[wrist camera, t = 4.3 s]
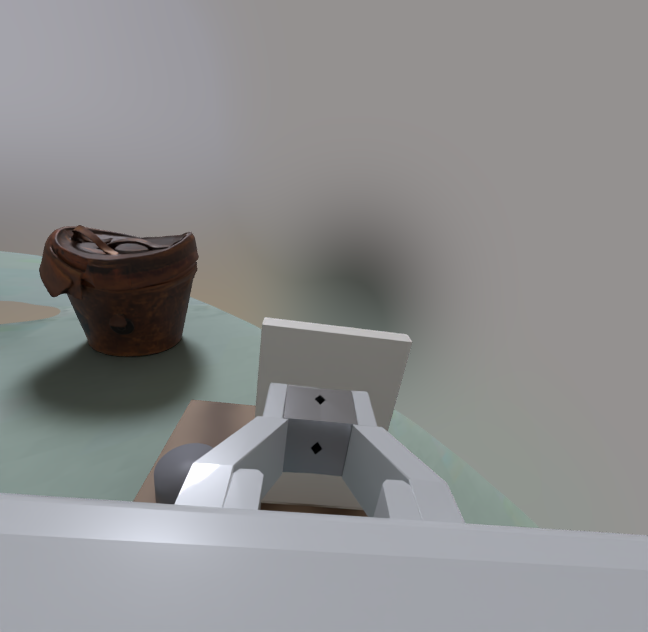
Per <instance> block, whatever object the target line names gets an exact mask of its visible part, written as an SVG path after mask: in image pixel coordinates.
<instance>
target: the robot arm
mask: <svg viewBox="0 0 648 632" xmlns="http://www.w3.org/2000/svg"><path fill="white" fill-rule="evenodd" d="M282 472H293V473H313V474H323V475H332V476H342V479H343V480H344V482H345V483H346V485H347V486H348V488H349V489H350V491H351V492H352V494H353V495H354V497H355V498H356V500H357V501H358V503H359V504H360V506H361V507H362V509H363V510H364V512H365V513H366V515H367V516H368V517H361V516H346V515H330V514H314V513H299V512H283V511H268V510H260V509H261V500H262V499H263V497H264V496H265V495H266V494H267V492H268V491H269V490H270V489H271V487H272V486H273V485H274V484H275V482H276V481H277V480H278V479H279V477H280V476H281V475H282ZM0 632H648V535H633V534H620V533H604V532H588V531H574V530H559V529H543V528H527V527H511V526H495V525H480V524H465V521H464V519H463V517H462V515H461V513H460V510H459V508H458V506H457V504H456V502H455V499H454V497H453V495H452V493H451V491H450V488H449V486H448V484H447V483H446V482H445V481H444V480H443V479H442V478H441V477H440V476H438V475H437V474H436V473H435V472H434V471H433V470H431V469H430V468H429V467H428V466H427V465H426V464H424V463H423V462H422V461H421V460H420V459H419V458H417V457H416V456H415V455H414V454H413V453H412V452H411V451H409V450H408V449H407V448H406V447H405V446H404V445H402V444H401V443H400V442H399V441H398V440H397V439H395V438H394V437H393V436H392V435H391V434H390V433H389V432H387V431H386V430H385V429H384V428H383V427H377V423H376V419H375V416H374V412H373V409H372V405H371V401H370V398H369V394H368V393H367V392H366V391H347V390H334V389H321V388H316V387H307V386H299V385H290V384H288V386H287V384H281V383H271V384H270V386H269V390H268V395H267V399H266V403H265V408H264V412H263V416H257V417H256V418H254V419H253V420H252V421H250V422H249V423H247V424H246V425H245V426H243V427H242V428H241V429H239V430H238V431H236V432H235V433H234V434H232V435H231V436H230V437H228V438H227V439H225V440H224V441H223V442H221V443H220V444H219V445H217V446H216V447H214V448H213V449H212V450H210V451H209V452H208V453H206V454H205V455H203V456H202V457H201V458H199V459H198V460H197V461H195V462H194V463H193V464H192V466H191V468H190V471H189V473H188V475H187V477H186V480H185V482H184V484H183V486H182V488H181V491H180V493H179V495H178V497H177V500H176V502H175V504H161V503H146V502H130V501H115V500H100V499H85V498H70V497H54V496H39V495H24V494H9V493H0Z"/></svg>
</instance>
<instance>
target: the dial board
mask: <svg viewBox="0 0 648 632" xmlns="http://www.w3.org/2000/svg"><path fill="white" fill-rule="evenodd" d="M255 409H256V406H252V405H241V404H231V403H221V402H211V401H200V400H191V401H190V403H189V405H188V407H187V408H186V410H185V412H184V414H183V415H182V417H181V419H180V421H179V422H178V424H177V426H176V428H175V429H174V431H173V433H172V435H171V436H170V438H169V440H168V441H167V443H166V445H165V447H164V448H163V450H162V452H161V454H160V455H159V457H158V459H157V461H156V462H155V464H154V466H153V468H152V469H151V471H150V473H149V475H148V476H147V478H146V480H145V482H144V483H143V485H142V487H141V489H140V490H139V492H138V494H137V496H136V497H135V499H134V501H133V502H146V503H156V499H155V486H154V470H155V467H156V465H157V463H158V461H159V460H160V459H161V458H162V457H163V456H164V455H165V454H166V453H167V452H169V451H170V450H172V449H174V448H176V447H178V446H181V445H185V444H190V443H201V444H206V445H209V446H211V447H213V448H214V447H216V446H217V445H219V444H220V443H221V442H223V441H224V440H225V439H227V438H228V437H230V436H231V435H232V434H234V433H235V432H236V431H238V430H239V429H241V428H242V427H243V426H245V425H246V424H247V423H249V422H250V421H252V420H253V419H254V418H255ZM260 510H268V511H283V512H299V513H314V514H330V515H346V516H361V517H368V516H367V515H366V513H365V512H364V510H363V509H362V508H355V507H341V506H328V505H314V504H300V503H287V502H273V501H261V509H260Z"/></svg>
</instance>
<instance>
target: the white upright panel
mask: <svg viewBox="0 0 648 632" xmlns="http://www.w3.org/2000/svg"><path fill="white" fill-rule="evenodd" d="M411 345H412V341H411V340H410V338H409V336H408V335H407V334H399V333H391V332H383V331H374V330H366V329H357V328H349V327H341V326H333V325H324V324H316V323H308V322H299V321H291V320H283V319H275V318H266V317H265V318H264V321H263V323H262V333H261V345H260V358H259V371H258V384H257V396H256V409H255V418H256V417H257V416H263V412H264V408H265V403H266V399H267V395H268V390H269V386H270V384H271V383H281V384H287V386H288V384H290V385H299V386H307V387H316V388H321V389H334V390H347V391H366V392H367V393H368V394H369V398H370V401H371V405H372V409H373V412H374V416H375V419H376V423H377V427H383V428H384V429H385V430H386V431H387V432H388V428H389V425H390V421H391V417H392V414H393V410H394V406H395V403H396V399H397V395H398V392H399V388H400V385H401V381H402V377H403V374H404V370H405V367H406V363H407V359H408V356H409V352H410V348H411ZM212 449H213V447H211V446H209V445H206V444H201V443H190V444H185V445H181V446H178V447H176V448H174V449H172V450H170V451H169V452H167V453H166V454H165V455H164V456H163V457H162V458H161V459H160V460H159V461H158V463H157V465H156V467H155V470H154V486H155V499H156V503H161V504H175V502H176V500H177V497H178V495H179V493H180V491H181V488H182V486H183V484H184V482H185V480H186V477H187V475H188V473H189V471H190V468H191V466H192V464H193V463H194V462H195V461H197V460H198V459H199V458H201V457H202V456H203V455H205V454H206V453H208V452H209V451H210V450H212ZM261 501H273V502H287V503H300V504H314V505H328V506H341V507H355V508H362V507H361V506H360V504H359V503H358V501H357V500H356V498H355V497H354V495H353V494H352V492H351V491H350V489H349V488H348V486H347V485H346V483H345V482H344V480H343V479H342V476H332V475H323V474H313V473H293V472H282V475H281V476H280V477H279V479H278V480H277V481H276V482H275V484H274V485H273V486H272V487H271V489H270V490H269V491H268V492H267V494H266V495H265V496H264V497H263V499H262V500H261Z"/></svg>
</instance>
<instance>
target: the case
mask: <svg viewBox="0 0 648 632" xmlns="http://www.w3.org/2000/svg"><path fill="white" fill-rule="evenodd" d="M197 260H198V253H197V247H196V242H195V237H194V235H193V234H192V233H191V232H188V233H184V234H182V235H175V236H163V237H145V238H140V237H136V236H131V235H126V234H121V233H116V232H111V231H105V230H99V229H93V228H87V227H84V226H81V225H79V226H76V227H75V226H66V227H62V228H59V229H57V230H55V231H54V232H53V233H52V234H51V235H50V236H49V237H48V239H47V241H46V243H45V247H44V252H43V257H42V262H41V265H40V268H39V272H40V277H41V279H42V282H43V283H44V286H45V287H46V288H47V291H48V292H49V294H50V295H51V296H52V297H57V296H58V295H60V294H64V293H66V294H67V295H68V297H69V299H70V302H71V304H72V306H73V308H74V311H75V313H76V315H77V317H78V319H79V321H80V323H81V326H82V328H83V330H84V332H85V335H86V337H87V339H88V343H89V345H90V346H91V347H92V348H93V349H94V350H96V351H98V352H101V353H104V354H108V355H114V356H143V355H149V354H155V353H159V352H162V351H165V350H167V349H169V348H171V347H173V346H175V345H176V344H177V343H178V342H179V341H180V339H181V337H182V333H183V328H184V323H185V318H186V313H187V308H188V303H189V298H190V292H191V288H192V282H193V278H194V275H195V273H196V271H197V262H196V261H197Z"/></svg>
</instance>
